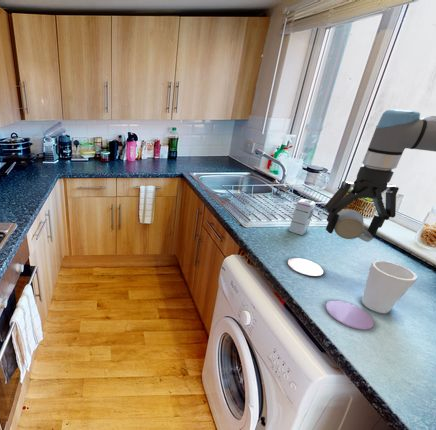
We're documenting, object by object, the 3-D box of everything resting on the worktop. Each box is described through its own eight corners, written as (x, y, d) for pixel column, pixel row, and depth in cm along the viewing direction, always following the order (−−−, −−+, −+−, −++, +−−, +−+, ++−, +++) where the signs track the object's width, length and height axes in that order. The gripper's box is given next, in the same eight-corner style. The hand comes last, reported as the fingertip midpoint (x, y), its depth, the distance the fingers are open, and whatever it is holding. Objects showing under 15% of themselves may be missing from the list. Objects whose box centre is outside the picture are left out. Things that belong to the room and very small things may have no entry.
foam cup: (352, 304, 86) (370, 269, 80) (357, 290, 91) (374, 256, 86) (394, 322, 79) (416, 285, 74) (397, 306, 85) (417, 270, 80)
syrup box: (302, 235, 124) (312, 205, 118) (287, 230, 128) (297, 200, 122) (306, 231, 128) (317, 201, 122) (292, 227, 132) (301, 197, 126)
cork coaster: (314, 260, 107) (315, 259, 107) (329, 278, 97) (329, 277, 97) (283, 257, 109) (283, 256, 108) (293, 274, 99) (294, 273, 99)
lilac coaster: (359, 304, 86) (359, 303, 86) (382, 333, 76) (383, 331, 76) (318, 299, 88) (319, 298, 87) (336, 326, 78) (337, 325, 78)
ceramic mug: (330, 236, 91) (339, 215, 87) (329, 226, 97) (338, 206, 94) (373, 247, 86) (384, 224, 83) (368, 235, 92) (379, 214, 89)
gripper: (415, 166, 84) (383, 232, 93) (326, 160, 87) (304, 224, 97) (435, 174, 77) (399, 243, 86) (339, 167, 81) (314, 234, 90)
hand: (349, 233), depth 92 cm, fingers closed on ceramic mug, 11 cm apart
